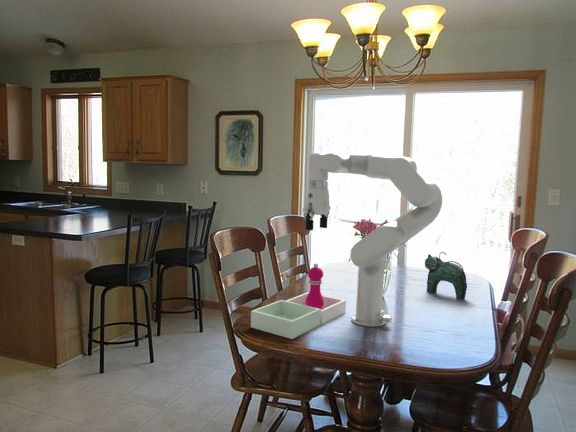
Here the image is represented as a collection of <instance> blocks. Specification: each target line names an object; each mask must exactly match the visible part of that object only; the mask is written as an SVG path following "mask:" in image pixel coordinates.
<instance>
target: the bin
mask: <svg viewBox="0 0 576 432" xmlns="http://www.w3.org/2000/svg"><path fill="white" fill-rule="evenodd" d="M321 309H322V308H321ZM321 309H318V308H314V307H310V306H306V305H301V304H297V303H293V302H288V301H286V300H283V299H279V300H277V301H274V302H272V303H269V304H266V305H264V306H261V307H258V308H255V309H253V310H251V311H250V328H253V329H254V330H255V329H256V330H260V331H262V332H266V333H269V334H273V335H276V336H281V337H284V338H287V339H291V340H293V339H295V338H297V337H299V336H301V335H304V334H305V333H308V332H309V331H312V330H313V329H315V328H317V327H320V326H321V324H320V323H321Z"/></svg>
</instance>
